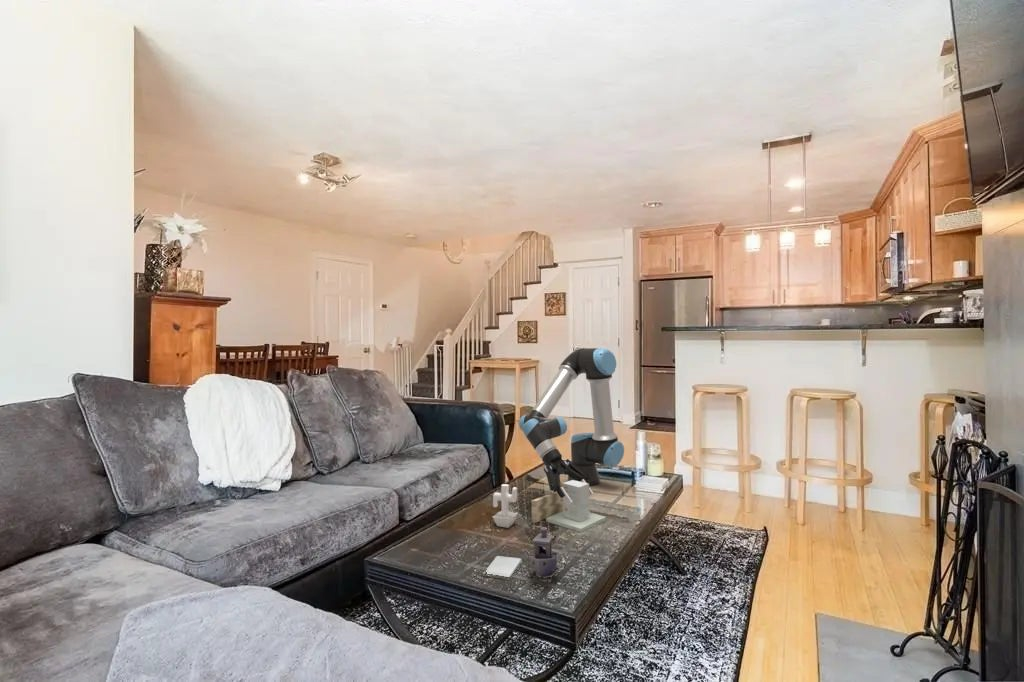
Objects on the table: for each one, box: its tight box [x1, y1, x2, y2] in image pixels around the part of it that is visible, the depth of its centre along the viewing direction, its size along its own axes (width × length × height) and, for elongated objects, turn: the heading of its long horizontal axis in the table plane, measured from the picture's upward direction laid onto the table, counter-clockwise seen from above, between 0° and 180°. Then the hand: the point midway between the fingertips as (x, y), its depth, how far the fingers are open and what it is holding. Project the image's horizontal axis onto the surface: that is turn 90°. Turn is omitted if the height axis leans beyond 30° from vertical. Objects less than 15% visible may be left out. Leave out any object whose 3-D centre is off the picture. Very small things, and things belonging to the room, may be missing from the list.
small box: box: [562, 480, 591, 522], centre depth 192 cm, size 8×6×13 cm
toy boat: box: [528, 526, 560, 579], centre depth 148 cm, size 15×8×13 cm, turn 164°
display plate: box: [545, 511, 607, 533], centre depth 192 cm, size 16×16×1 cm
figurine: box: [491, 483, 518, 529], centre depth 188 cm, size 7×9×15 cm
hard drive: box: [485, 555, 523, 577], centre depth 152 cm, size 2×8×12 cm
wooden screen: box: [531, 492, 563, 524], centre depth 199 cm, size 24×2×8 cm, turn 137°
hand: (580, 499), depth 190 cm, fingers open, 13 cm apart
